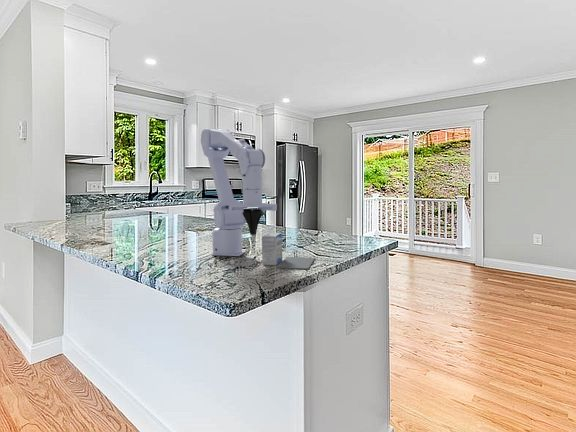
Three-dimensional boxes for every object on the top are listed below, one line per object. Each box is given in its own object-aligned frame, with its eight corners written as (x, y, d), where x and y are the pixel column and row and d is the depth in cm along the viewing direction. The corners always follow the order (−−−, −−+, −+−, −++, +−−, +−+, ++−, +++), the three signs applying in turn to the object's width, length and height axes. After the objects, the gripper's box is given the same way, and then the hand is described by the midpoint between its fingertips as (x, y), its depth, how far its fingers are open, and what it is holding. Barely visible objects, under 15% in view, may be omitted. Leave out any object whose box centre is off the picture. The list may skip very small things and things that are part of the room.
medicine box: (276, 265, 108) (276, 236, 107) (262, 265, 109) (261, 236, 108) (282, 260, 115) (282, 232, 115) (268, 259, 116) (268, 232, 115)
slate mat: (276, 268, 105) (276, 266, 105) (287, 257, 118) (287, 256, 118) (308, 269, 103) (308, 268, 103) (314, 258, 116) (314, 257, 116)
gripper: (224, 190, 109) (226, 235, 110) (272, 189, 106) (273, 236, 107) (233, 189, 115) (234, 232, 117) (278, 189, 112) (278, 233, 114)
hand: (253, 234), depth 112 cm, fingers closed
